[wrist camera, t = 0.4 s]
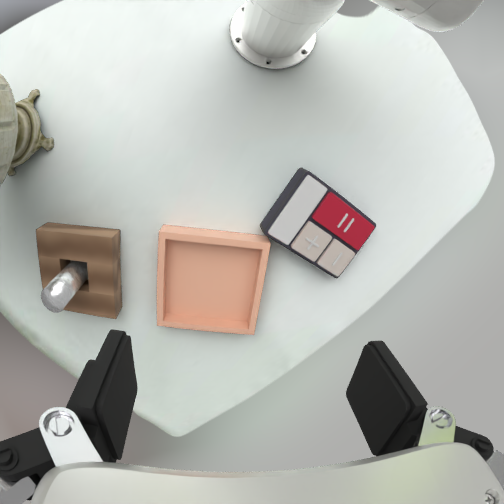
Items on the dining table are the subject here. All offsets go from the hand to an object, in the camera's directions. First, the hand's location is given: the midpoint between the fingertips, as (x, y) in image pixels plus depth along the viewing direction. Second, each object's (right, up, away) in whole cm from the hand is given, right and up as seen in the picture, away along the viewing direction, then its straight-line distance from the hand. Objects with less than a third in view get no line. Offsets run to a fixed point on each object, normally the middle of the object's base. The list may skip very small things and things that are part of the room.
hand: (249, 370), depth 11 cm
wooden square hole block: (-28, +2, +35) cm, 45 cm away
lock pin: (-28, +2, +35) cm, 45 cm away
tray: (-7, 0, +38) cm, 38 cm away
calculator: (+10, +9, +37) cm, 39 cm away
